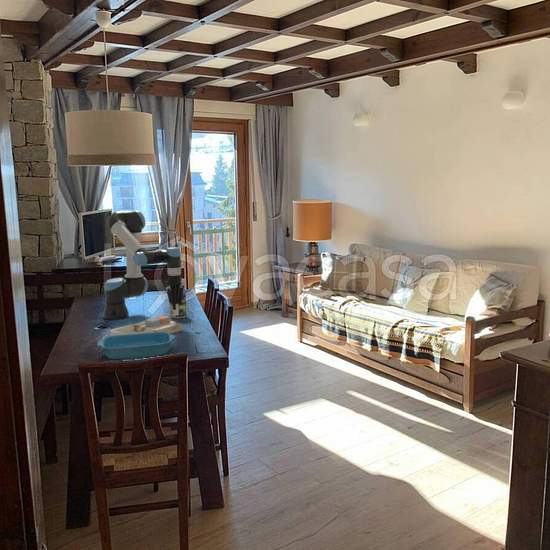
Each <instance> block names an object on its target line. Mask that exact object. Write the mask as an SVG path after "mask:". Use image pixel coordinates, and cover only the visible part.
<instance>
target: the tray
mask: <svg viewBox="0 0 550 550" xmlns="http://www.w3.org/2000/svg"><path fill="white" fill-rule="evenodd" d="M134 324H135V323H132V324H127V325H124V326H120V327H116V328H115V327H114V328H113V329H109V330H108V337H109V336H115V335H126V334H139V333H153V332H154V329H151V330H148V331H144V332H136V331H134Z"/></svg>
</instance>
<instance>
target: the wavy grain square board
mask: <svg viewBox="0 0 550 550" xmlns="http://www.w3.org/2000/svg"><path fill="white" fill-rule="evenodd" d="M133 324H134V331H136V332H144V331H148V330H151V329H154V332H166V333H169V334H173V333H178V332H180V331H182V330H183V329H182V327H183V325H182V323H181V322H177V321H172V320H170V322H169V323H165V324H161V325H158V326H154V327H150V326H146V325H145V320H143V321H141V322H136V323H133Z"/></svg>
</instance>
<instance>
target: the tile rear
mask: <svg viewBox="0 0 550 550" xmlns="http://www.w3.org/2000/svg"><path fill="white" fill-rule="evenodd" d="M154 318H156V319H161V324H165V323H169V322H170V321H171V317H170V316H167V315H160V316H157V317H154Z"/></svg>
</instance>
